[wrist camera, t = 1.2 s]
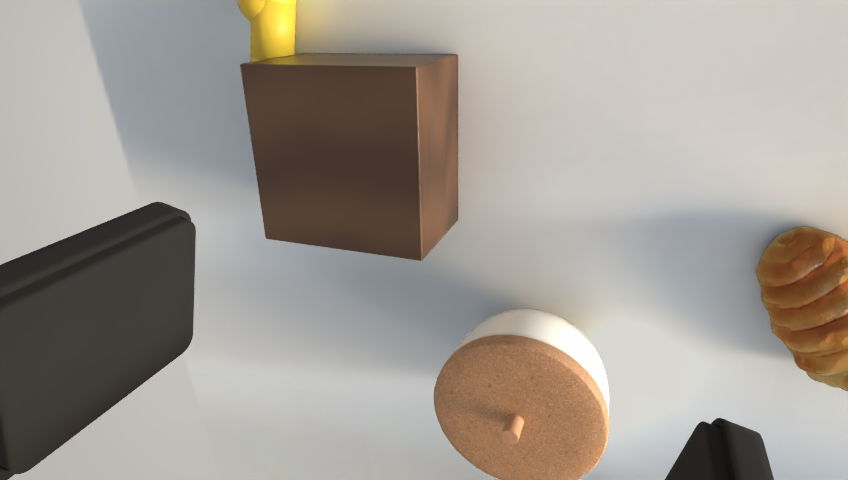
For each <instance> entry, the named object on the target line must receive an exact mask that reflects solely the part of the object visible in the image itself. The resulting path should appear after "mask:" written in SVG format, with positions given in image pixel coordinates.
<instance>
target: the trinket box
mask: <svg viewBox="0 0 848 480" xmlns="http://www.w3.org/2000/svg"><path fill="white" fill-rule="evenodd" d="M434 406H435V411H436V415H437V418H438V421H439V423H440V426H441V428H442V430H443V432H444V434H445V435H446V437H447V438H448V440H449V441H450V443H451V444H452V445H453V446H454V448H455V449H456V450H457V451H458V452H459V453H460V454H461V455H462V456H463V457H464V458H465V459H466V460H468V461H469V462H470V463H472V464H473V465H474V466H476V467H477V468H479V469H480V470H482V471H484V472H485V473H487V474H489V475H491V476H493V477H496V478H498V479H500V480H577V479H578V478H580V477H582V476H584V475H585V474H587V473H588V472H589V471H590V470H592V469H593V468H594V467H595V466H596V464H597V463H598V462H599V461H600V459H601V457H602V455H603V453H604V451H605V449H606V445H607V441H608V436H609V390H608V383H607V377H606V373H605V370H604V367H603V364H602V361H601V359H600V357H599V355H598V353H597V351H596V350H595V348H594V346H593V345H592V343H591V342H590V341H589V340H588V338H587V337H586V336H585V335H584V334H583V333H582V332H581V331H580V330H579V329H578V328H576V327H575V326H574V325H572V324H571V323H570V322H568V321H566V320H564V319H563V318H561V317H559V316H557V315H554V314H551V313H549V312H545V311H541V310H534V309H514V310H509V311H504V312H502V313H499V314H496V315H494V316H491V317H489V318H488V319H486V320H484V321H482V322H481V323H480V324H479V325H477V326H476V327H475V328H474V329H473V330H471V331H470V332H469V333H468V334H467V336H466V337H465V338H464V339H463V340H462V341H461V343H460V344H459V345H458V346H457V348H456V349H455V351H454V352H453V354H452V355H451V357H450V358H449V359H448V360H447V362H446V363H445V364H444V366H443V368H442V370H441V372H440V374H439V376H438V377H437V381H436V384H435V388H434Z"/></svg>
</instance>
